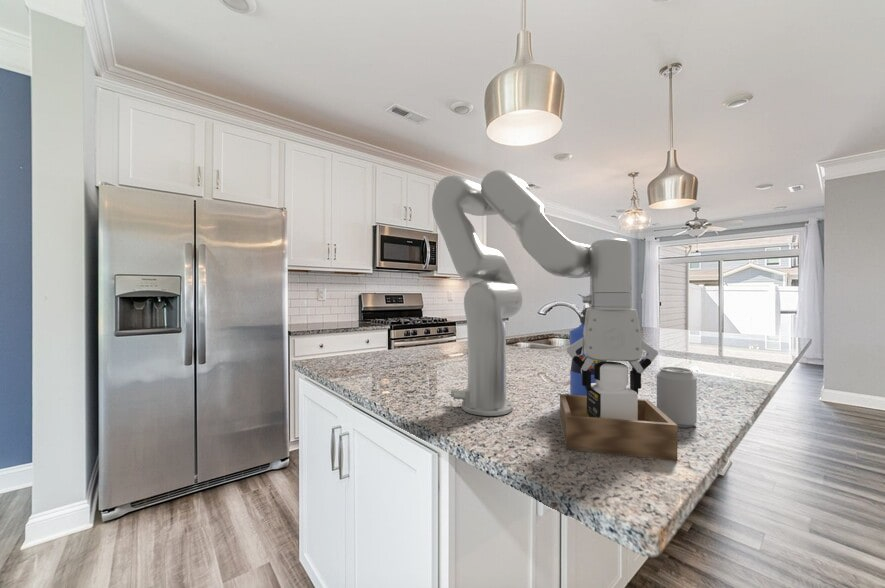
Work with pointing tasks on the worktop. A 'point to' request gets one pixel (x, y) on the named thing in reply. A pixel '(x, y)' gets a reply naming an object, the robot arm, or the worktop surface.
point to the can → (677, 395)
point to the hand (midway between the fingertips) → (610, 390)
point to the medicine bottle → (611, 393)
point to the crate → (618, 431)
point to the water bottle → (575, 370)
